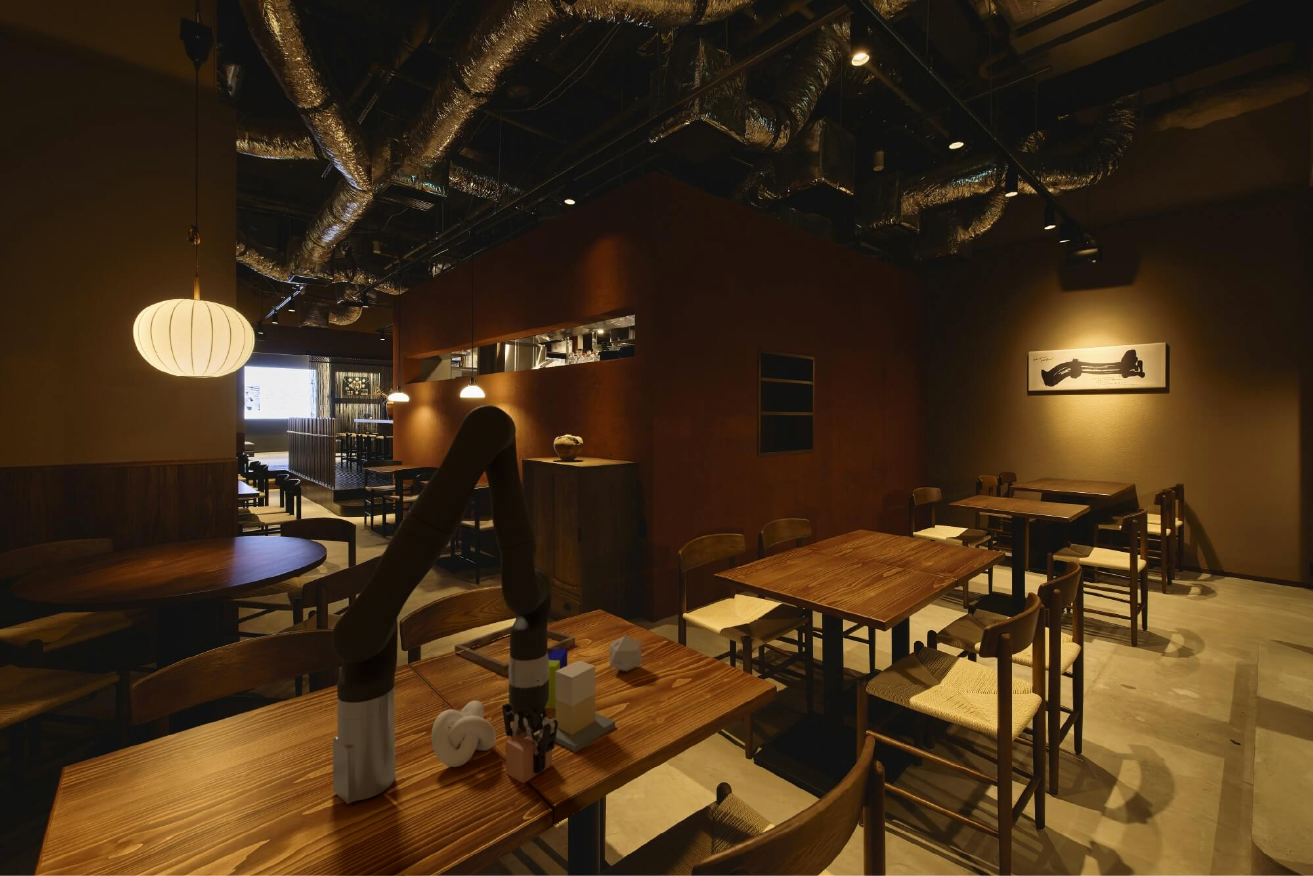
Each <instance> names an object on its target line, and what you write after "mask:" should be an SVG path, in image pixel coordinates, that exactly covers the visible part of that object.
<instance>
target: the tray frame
mask: <svg viewBox="0 0 1313 876" xmlns="http://www.w3.org/2000/svg"><path fill="white" fill-rule="evenodd" d="M512 626H513V625H511V626H507V627H504V628H502V629H499V630H496V631H493V632H490V633H487V634H483V635H482V636H478V637H475V638H472V639H470V640H467V641H464V642H462V643H458V644H455V645H454V653H455V652H457V651H461V650H464V651H462V652H460V653H461V654H460V655H459V657H460V656H461V657H462V658H464V659H467V660H468V661H469V660H470V661H472V662H474V663H476V664H478V665H480V666H483V667H484V668H487V669H489V670H491V671H493V672H495V673H498V674H500V675H502V676H507V675H508V676H509V662H503V661H500V660H498V659H496V658H493V657H491V656H488V655H486V654H483V653H480V652H479V651H476V650H473V649H468V650H465V649H467V648H471V647H473V646H477V645H480V646H482V644H483V645H485V644H487V643H490V642H494V641H496V640H498V639H500V638H503V637H507V636H510V631H511V628H512ZM547 637H548V638H549V637H550V638H549V639H553V640H556V641H558V642H556V643H552V644H551V645H547V649H563V650H567V649H568V648H570V647H573V646H575V645H576V637H575V636H572V635H569V634H566V633H564V632H563V633H562V632H559V631H556V630H553V629H551V628H547ZM484 643H485V644H484ZM477 647H478V646H477ZM458 654H459V653H457V654H456V655H458Z"/></svg>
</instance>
